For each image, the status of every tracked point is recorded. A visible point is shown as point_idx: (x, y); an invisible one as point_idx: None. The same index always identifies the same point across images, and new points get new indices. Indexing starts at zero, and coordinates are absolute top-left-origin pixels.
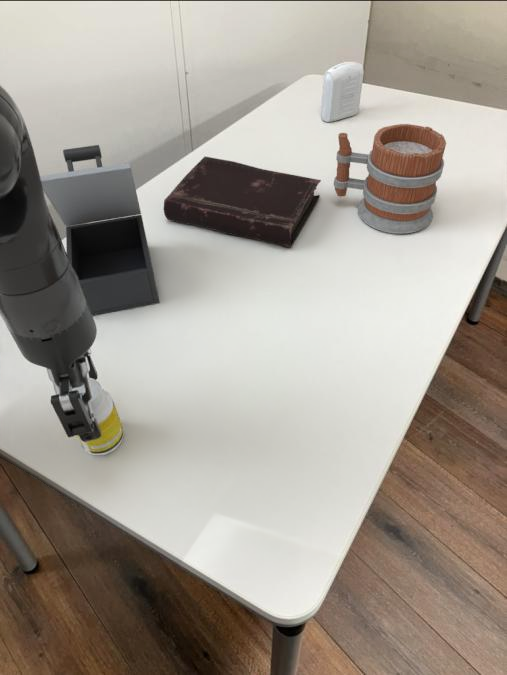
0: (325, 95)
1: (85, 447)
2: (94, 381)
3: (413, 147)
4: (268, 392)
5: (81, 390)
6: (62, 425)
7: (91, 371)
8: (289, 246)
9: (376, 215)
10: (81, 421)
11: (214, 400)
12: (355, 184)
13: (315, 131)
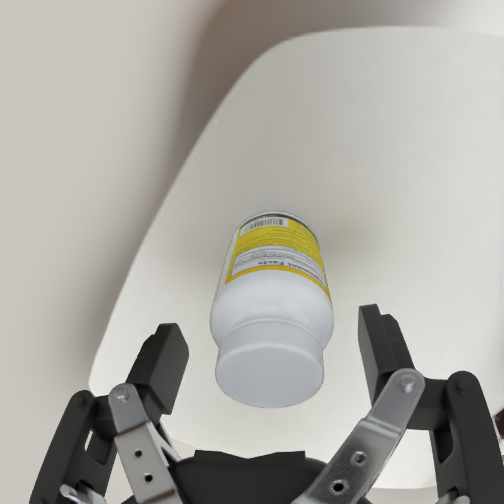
0: None
1: (233, 239)
2: (300, 399)
3: None
4: (315, 423)
5: (271, 378)
6: (54, 435)
7: (364, 362)
8: (495, 420)
9: None
10: (106, 433)
11: (320, 387)
12: (502, 459)
13: None
